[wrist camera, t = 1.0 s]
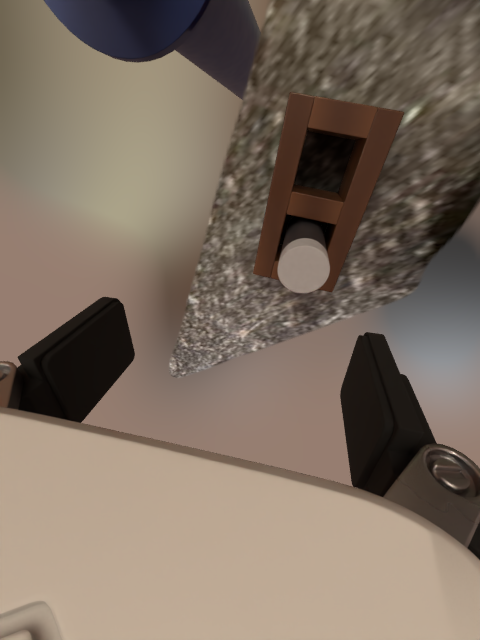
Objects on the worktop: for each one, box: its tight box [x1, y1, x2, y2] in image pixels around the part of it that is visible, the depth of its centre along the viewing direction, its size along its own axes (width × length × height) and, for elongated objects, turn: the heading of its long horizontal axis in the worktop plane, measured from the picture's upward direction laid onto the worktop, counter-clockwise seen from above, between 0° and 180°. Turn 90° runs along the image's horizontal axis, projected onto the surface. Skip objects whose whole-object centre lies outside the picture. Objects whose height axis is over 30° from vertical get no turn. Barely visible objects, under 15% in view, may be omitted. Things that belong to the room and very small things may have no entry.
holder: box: [253, 92, 404, 292], centre depth 27 cm, size 9×16×6 cm, turn 170°
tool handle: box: [278, 216, 330, 293], centre depth 26 cm, size 4×4×13 cm
